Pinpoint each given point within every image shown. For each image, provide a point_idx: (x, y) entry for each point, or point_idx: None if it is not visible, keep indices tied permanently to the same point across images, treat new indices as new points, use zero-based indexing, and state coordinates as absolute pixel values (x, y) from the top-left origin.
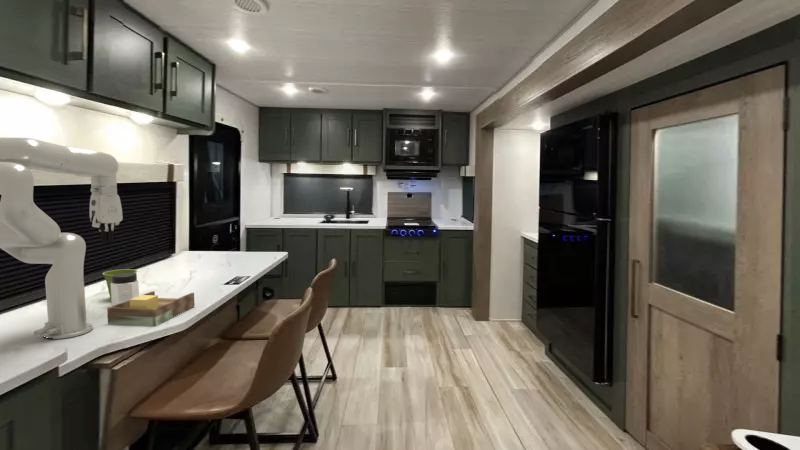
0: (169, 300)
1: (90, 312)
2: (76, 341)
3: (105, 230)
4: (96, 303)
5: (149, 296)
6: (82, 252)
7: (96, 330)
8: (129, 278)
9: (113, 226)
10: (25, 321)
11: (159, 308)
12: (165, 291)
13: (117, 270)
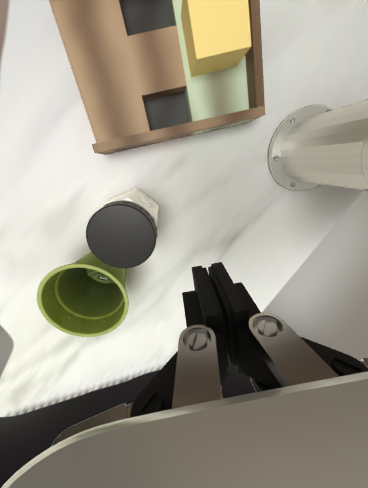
0: (97, 70)
1: (196, 234)
2: (347, 79)
3: (281, 322)
4: (148, 280)
5: (204, 4)
6: None
7: (286, 106)
8: (128, 204)
9: (186, 367)
10: (264, 280)
11: None
12: (5, 235)
13: (71, 330)
